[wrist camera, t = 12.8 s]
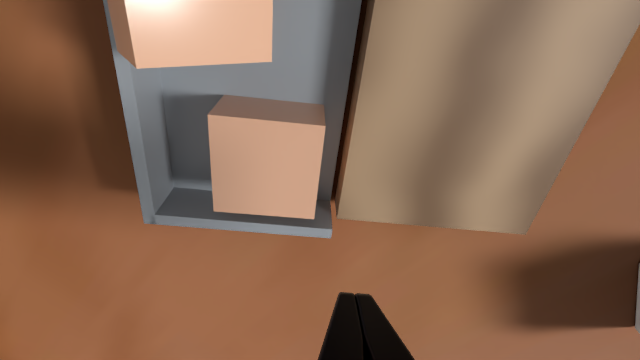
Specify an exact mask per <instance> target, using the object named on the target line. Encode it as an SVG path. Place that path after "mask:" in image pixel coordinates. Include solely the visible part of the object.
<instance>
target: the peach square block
mask: <svg viewBox="0 0 640 360" xmlns="http://www.w3.org/2000/svg"><path fill="white" fill-rule="evenodd" d="M325 128H326V124H325V112H324V105H322V104H312V103H302V102H292V101H283V100H273V99H263V98H253V97H243V96H233V95H223V97H222V98H221V99H220V100H219V101H218V103H217V104H216V105H215V106H214V107H213V109H212V110H211V111H210V112H209V113H208V130H209V146H210V162H211V178H212V194H213V210H214V212H227V213H240V214H253V215H266V216H279V217H291V218H304V219H314V217H315V208H316V200H317V192H318V184H319V176H320V168H321V160H322V152H323V144H324V136H325Z"/></svg>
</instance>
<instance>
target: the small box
mask: <svg viewBox="0 0 640 360" xmlns="http://www.w3.org/2000/svg"><path fill="white" fill-rule="evenodd" d="M635 329H636V330H637V331H638V332H639V333H640V263H639V273H638V288H637V303H636V321H635Z"/></svg>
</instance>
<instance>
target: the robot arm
mask: <svg viewBox="0 0 640 360" xmlns="http://www.w3.org/2000/svg"><path fill="white" fill-rule="evenodd" d="M318 360H415V359H414V358H413V356H412V355H411V354H410V352H409V351H408V349H407V348H406V346H405V345H404V343H403V342H402V340H401V339H400V337H399V336H398V334H397V333H396V331H395V330H394V328H393V327H392V326H391V324H390V323H389V321H388V320H387V318H386V317H385V315H384V314H383V312H382V311H381V309H380V308H379V306H378V305H377V303H376V302H375V300H374V299H373V298H372V296H371V295H369V294H360V293H357V294H355V295H354V294H353V293H346V292H340V293H339V295H338V297H337V301H336V304H335V307H334V310H333V313H332V316H331V320H330V323H329V326H328V329H327V332H326V335H325V338H324V342H323V345H322V348H321V351H320V354H319V357H318Z"/></svg>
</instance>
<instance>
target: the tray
mask: <svg viewBox="0 0 640 360" xmlns="http://www.w3.org/2000/svg"><path fill="white" fill-rule="evenodd" d="M361 2H362V0H273V23H272V62H259V63H239V64H219V65H200V66H180V67H160V68H141V69H136V68H135V67H134V66H133V65H132V64H131V63H130V62H129V61H128V60H127V59H125V58H124V57H123V56H122V55H121V54H120V53H119V52H118V51H117V47H116V42H115V37H114V32H113V27H112V22H111V17H110V12H109V7H108V3H107V0H103V3H104V9H105V14H106V19H107V25H108V30H109V36H110V41H111V47H112V52H113V57H114V63H115V68H116V74H117V79H118V84H119V90H120V95H121V101H122V106H123V112H124V117H125V122H126V128H127V133H128V139H129V144H130V149H131V155H132V160H133V166H134V171H135V177H136V182H137V187H138V193H139V198H140V204H141V209H142V214H143V220H144V223H147V224H159V225H172V226H184V227H196V228H209V229H221V230H234V231H246V232H259V233H271V234H283V235H296V236H308V237H321V238H331V234H332V219H331V205H330V199H331V193H332V186H333V180H334V173H335V167H336V161H337V154H338V148H339V142H340V135H341V129H342V123H343V116H344V110H345V104H346V97H347V91H348V85H349V78H350V72H351V66H352V59H353V53H354V47H355V40H356V34H357V27H358V21H359V15H360V8H361ZM223 95H233V96H243V97H253V98H263V99H273V100H283V101H292V102H302V103H312V104H322V105H324V112H325V124H326V128H325V136H324V144H323V152H322V160H321V168H320V176H319V184H318V192H317V200H316V208H315V217H314V219H304V218H291V217H279V216H266V215H253V214H240V213H227V212H214V210H213V194H212V178H211V162H210V146H209V130H208V113H209V112H210V111H211V110H212V109H213V107H214V106H215V105H216V104H217V103H218V101H219V100H220V99H221V98H222V97H223Z"/></svg>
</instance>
